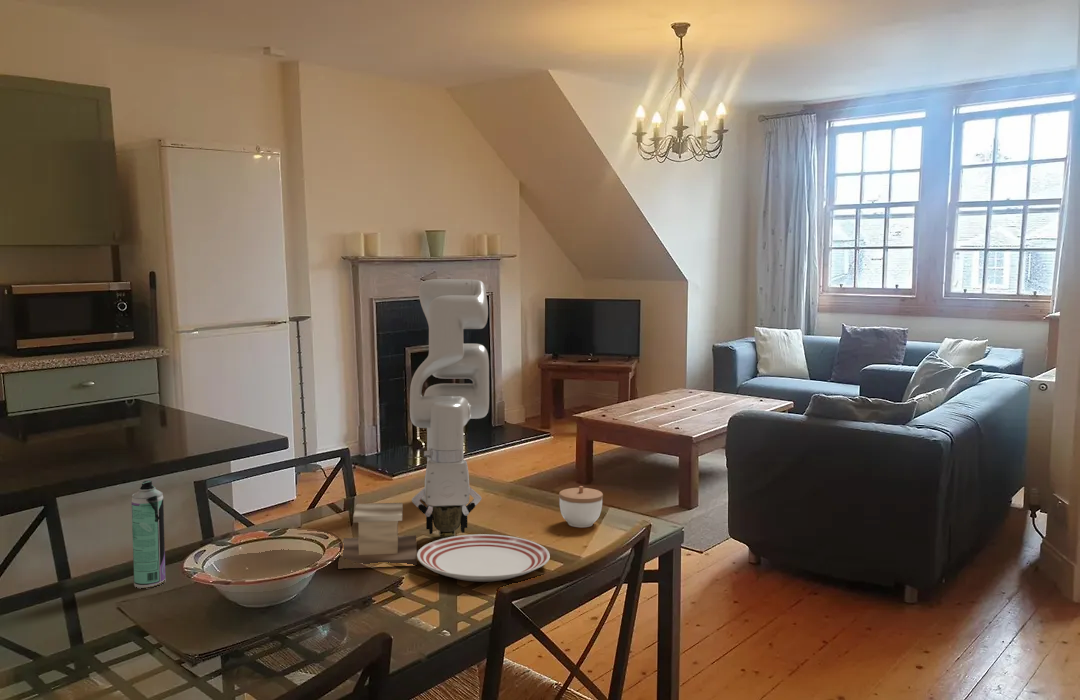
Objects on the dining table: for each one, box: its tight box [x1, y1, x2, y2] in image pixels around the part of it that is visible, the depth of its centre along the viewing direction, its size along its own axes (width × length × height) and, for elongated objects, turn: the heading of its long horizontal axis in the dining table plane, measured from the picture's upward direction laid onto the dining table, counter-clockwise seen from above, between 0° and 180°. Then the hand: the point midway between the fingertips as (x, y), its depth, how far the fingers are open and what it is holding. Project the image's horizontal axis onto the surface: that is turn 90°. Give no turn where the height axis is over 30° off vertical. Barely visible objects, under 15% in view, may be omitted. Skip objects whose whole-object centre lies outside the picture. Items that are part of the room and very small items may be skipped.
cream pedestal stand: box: [342, 502, 418, 566], centre depth 172 cm, size 16×16×10 cm
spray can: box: [131, 480, 166, 589], centre depth 154 cm, size 6×6×20 cm
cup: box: [432, 506, 462, 539], centre depth 185 cm, size 8×7×8 cm
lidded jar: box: [558, 485, 604, 529], centre depth 196 cm, size 11×11×9 cm
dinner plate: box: [417, 533, 551, 583], centre depth 166 cm, size 28×27×3 cm
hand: (446, 530), depth 185 cm, fingers closed on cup, 6 cm apart
